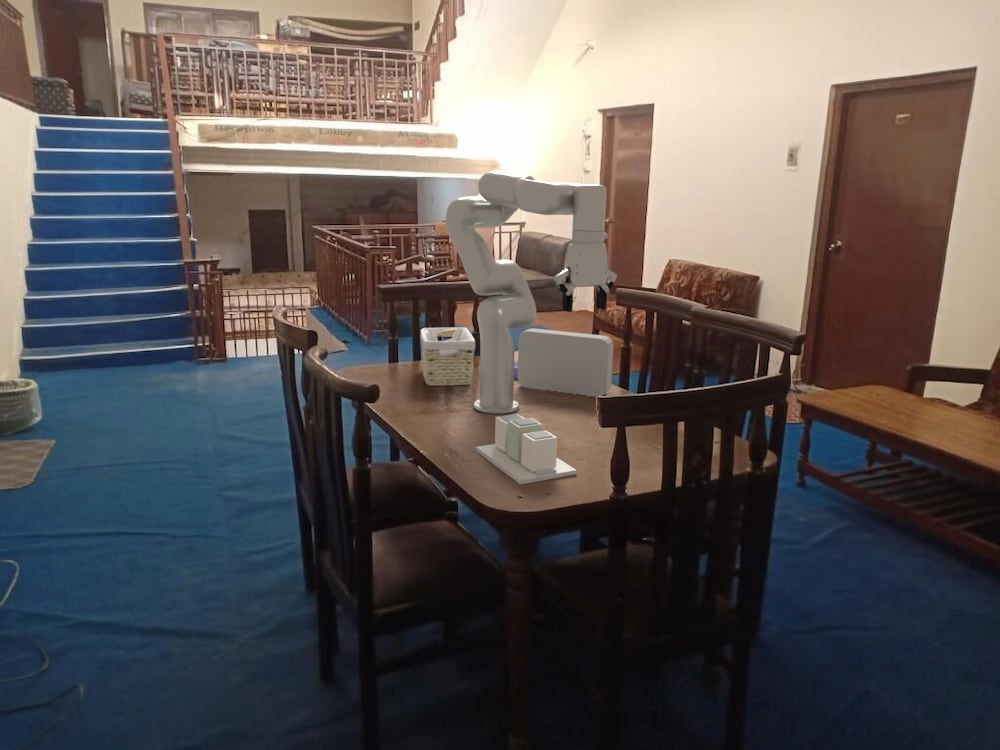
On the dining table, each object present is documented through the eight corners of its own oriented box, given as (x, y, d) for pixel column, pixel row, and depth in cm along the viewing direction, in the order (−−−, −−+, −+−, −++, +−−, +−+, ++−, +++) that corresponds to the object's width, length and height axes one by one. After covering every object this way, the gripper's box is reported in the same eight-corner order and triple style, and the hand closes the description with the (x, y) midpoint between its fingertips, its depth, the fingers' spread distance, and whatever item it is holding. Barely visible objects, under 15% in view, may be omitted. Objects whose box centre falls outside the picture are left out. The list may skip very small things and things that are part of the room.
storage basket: (419, 369, 249) (419, 326, 245) (467, 368, 251) (467, 326, 248) (423, 388, 226) (423, 341, 222) (475, 387, 229) (476, 340, 225)
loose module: (507, 454, 168) (508, 420, 166) (530, 450, 171) (531, 416, 169) (517, 461, 164) (518, 426, 162) (541, 457, 166) (542, 423, 164)
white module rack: (475, 450, 174) (476, 415, 172) (527, 442, 180) (528, 408, 178) (520, 484, 155) (521, 445, 153) (576, 474, 161) (578, 436, 159)
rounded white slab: (612, 392, 226) (616, 335, 221) (605, 398, 219) (609, 339, 215) (526, 381, 237) (527, 326, 232) (517, 386, 230) (518, 330, 225)
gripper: (609, 236, 180) (605, 305, 184) (548, 237, 172) (545, 309, 177) (627, 238, 174) (622, 310, 178) (565, 240, 166) (562, 314, 170)
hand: (584, 310), depth 177 cm, fingers open, 9 cm apart
